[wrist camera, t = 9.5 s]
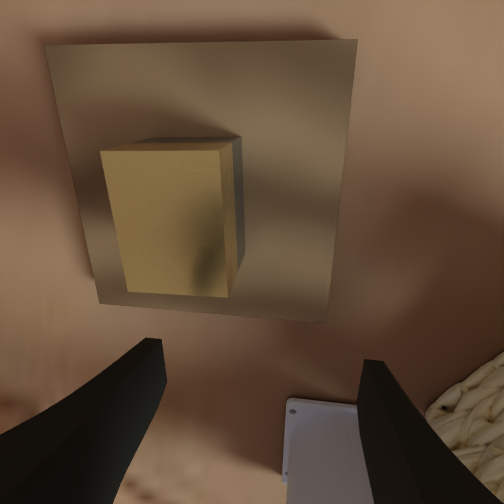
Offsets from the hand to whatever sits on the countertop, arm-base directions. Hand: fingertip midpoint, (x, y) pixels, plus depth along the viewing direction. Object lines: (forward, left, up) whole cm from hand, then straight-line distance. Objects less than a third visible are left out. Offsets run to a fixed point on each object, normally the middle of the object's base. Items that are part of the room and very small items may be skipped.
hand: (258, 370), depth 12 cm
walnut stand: (+4, +4, -9) cm, 11 cm away
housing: (+4, +4, -7) cm, 9 cm away
